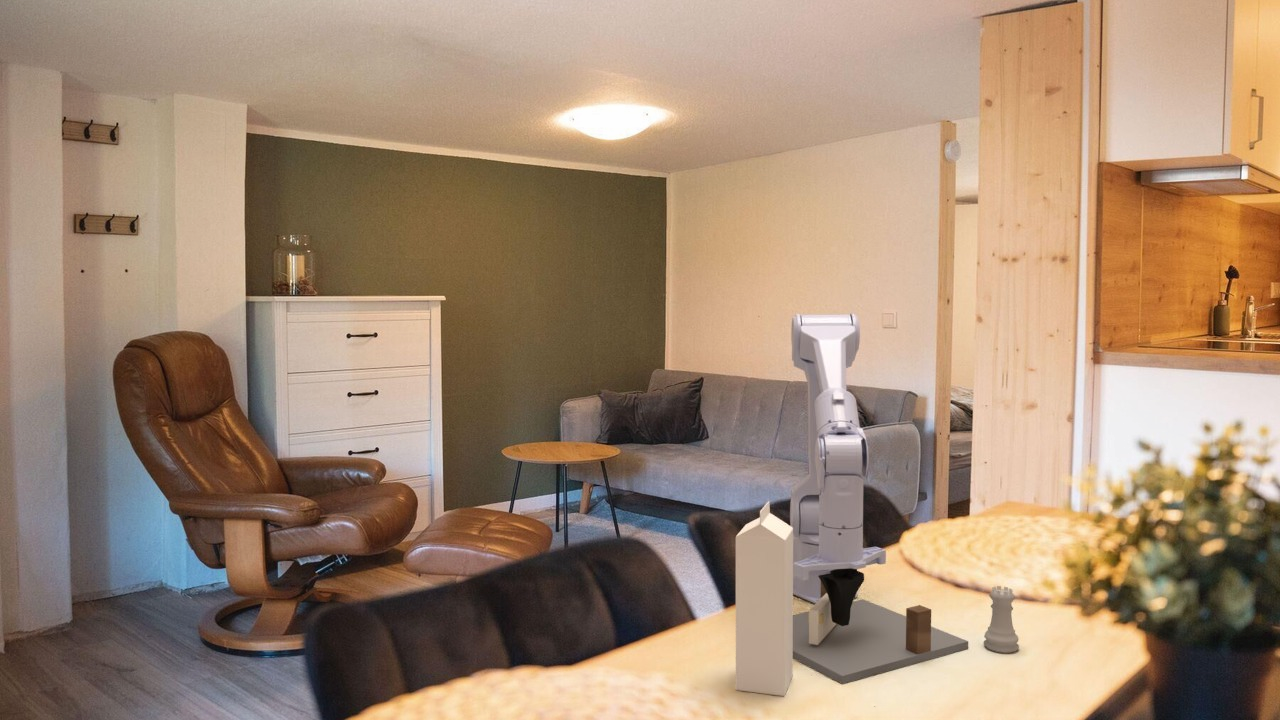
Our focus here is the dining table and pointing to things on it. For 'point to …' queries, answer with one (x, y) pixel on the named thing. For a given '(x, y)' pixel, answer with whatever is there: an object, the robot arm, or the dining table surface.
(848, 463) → the robot arm
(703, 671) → the dining table surface
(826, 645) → the base
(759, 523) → the milk
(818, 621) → the gate leaf
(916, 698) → the dining table surface
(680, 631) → the dining table surface
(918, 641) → the gate posts
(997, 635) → the rook chess piece
